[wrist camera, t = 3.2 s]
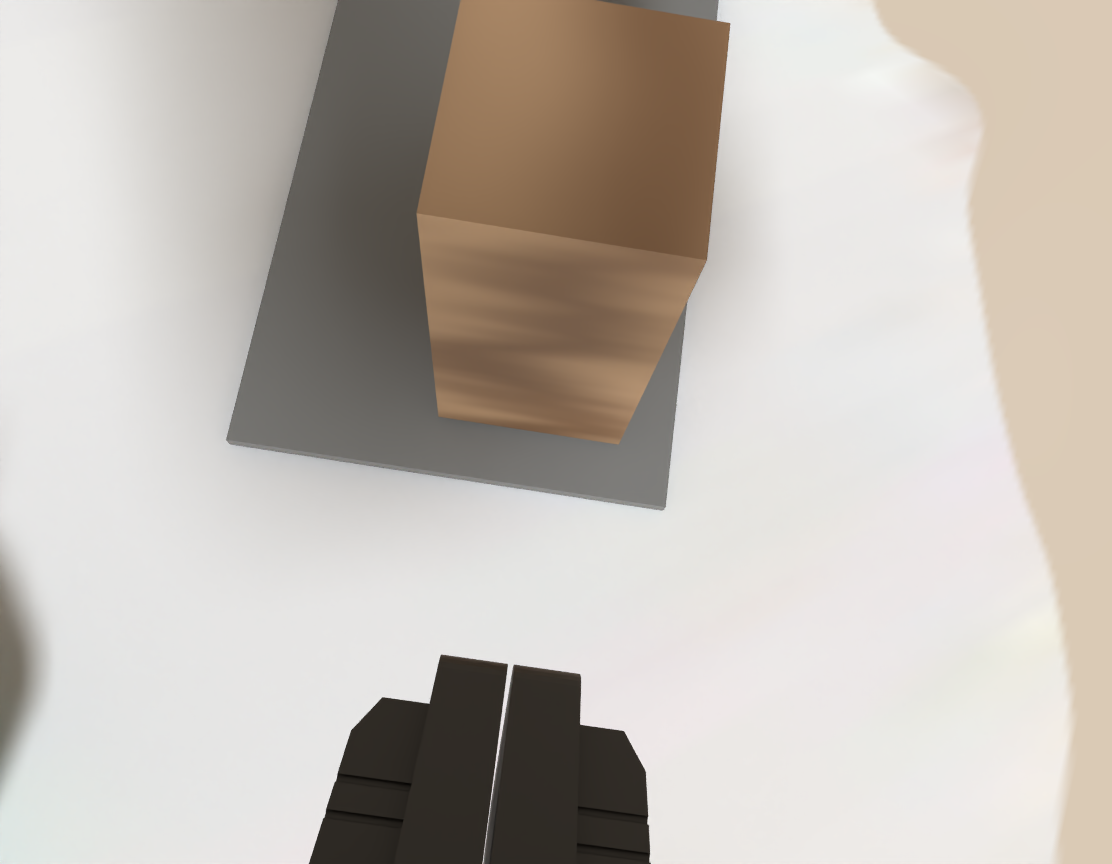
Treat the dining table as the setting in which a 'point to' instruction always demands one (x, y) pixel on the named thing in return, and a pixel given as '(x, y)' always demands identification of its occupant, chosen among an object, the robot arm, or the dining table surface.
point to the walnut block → (566, 207)
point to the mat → (403, 289)
